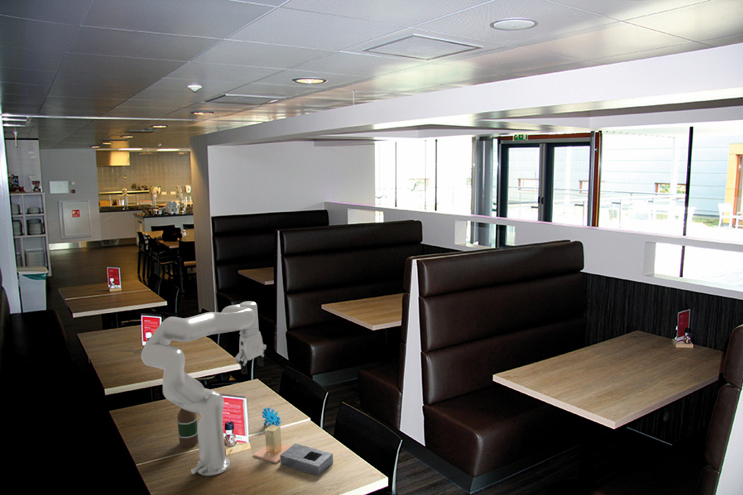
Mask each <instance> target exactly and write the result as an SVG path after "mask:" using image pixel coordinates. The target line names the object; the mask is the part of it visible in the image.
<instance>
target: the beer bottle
mask: <svg viewBox="0 0 743 495" xmlns="http://www.w3.org/2000/svg"><path fill="white" fill-rule="evenodd" d="M197 425H198V419H197V413H194V412H190V411H187V410H185V409H182V408H181V407H180V410H179V411H178V414H177V428H178V429H177V430H178V441H179V445H180V446H181V447H182V448H185V447H189V448H191V447H195V446H196V445H197V444H199V442H198V432H197Z"/></svg>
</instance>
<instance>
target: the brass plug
mask: <svg viewBox="0 0 743 495" xmlns="http://www.w3.org/2000/svg"><path fill="white" fill-rule="evenodd" d="M275 425H276V424H275ZM275 425H273V424H271V425H270V426H269V425H268V426H267V427H266V428H265V429H264V436H265V437H264V438H265V446H266V452H267V453H271V454H274V455H275V454H277V453H278V452H279V451H281V450H282V446H281V444H282V433H281V432H282V431H281V426H280V425H279V426H275Z"/></svg>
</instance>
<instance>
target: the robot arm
mask: <svg viewBox="0 0 743 495" xmlns="http://www.w3.org/2000/svg"><path fill="white" fill-rule="evenodd" d="M258 316H259V315H258V304H257V303H256V302H255V301H251V300H250V301H249V300H248V301H247V300H246V301H243V302H240V303H239V304H232V305H228V306H225V307H224V308H223V309H222V311H221V312H215V311H212V312H209V311H208V312H204V313H201V314H197V315H194V316H190V317H185V318H182V317H177V316H169V317H167V318H165V319H164V320H163V321H162V322H161V323H160V324H159V326H158V327H157V328H156V329H155V331H154V332H153V334H152V335H151V336H150V337H149V339H148V340H147V342H146V343H145V344H144V346H143V348H142V350H141V354H140V355H141V356H140V359H141V361H142V362H143V364H144V365H145V366H148V367H151V368H155V369H160V370H163V373H162V374H163V375H162V394H163V396H164V397H165V399H167V401H169V402H171V403H172V404H174V405H176V406H177V407H179V408H180V409H181V408H182V409H185V410H187V411H190V412H194V413H196V415H200V418H199V420H198V421H197V432H198V453H199V460H198V461H197V464H196V465H195V466H194V467H193V468H191V469H190V473H191V474H194V475H195V474H196V473H198V474H199V475H201V476H205V477H208V476H210V477H211V476H216V475H219V474H222V473H223V472H225V471H226V470H228V469H229V468H230V465H231V462H230V459H229V458H228V457H226V450H225V448H226V447H225V436H224V424H223V412H224V404H225V402H224V401H225V400H224V396H223V395H222V394H221V393H220V392H218V391H217V390H214V389H213V390H212V389H209V388H205V387H204V385H203V384H202V383H201V381H199V380H197V379H195V378H194V377H192V376H191V375H189V373H187V372H185V363H186V357H185V354H184V352H183V351H182V350H181V349H180V348H179V347H177V346H174V345H170V344H171V342H172V341H176V342H179V343H187V342H192V341H195V340H198V339H202V338H204V337H207V336H211V335H217V334H218V335H219V334H224V333H230V332H231V333H232V332H236V331H237V332H238V331H239V335H240V336H239V344H238V345H239V350H238V351H239V352H237V354H236V355H235V357H234V359H235V361H236V363H237V364H238V365H239V366H240V373H241V374H243V375H248V366H247V363H248V361H251V360H252V359H253V360H254V359H255V358H256V364H257V366H259V367H264V366H265V364H264V356H265V353H266V350H267V344H264V342H263V336H262V334H261V331H260V330H259V317H258Z"/></svg>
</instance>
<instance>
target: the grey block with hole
mask: <svg viewBox="0 0 743 495" xmlns="http://www.w3.org/2000/svg"><path fill="white" fill-rule="evenodd" d="M291 446H292V447H290V448H289V449H288V450H286V451H285V452H284V453H282V454H281V455H280V460H281V461H280V465H281V466H283V467H286V468H290V469H293V470H297V471H300V472H304V473H307V474H310V475H314V476H316V475H317V477H319V476H321V475H322V474H323V473H325V471H326V470H327V469H328V468H329V467H331V466H332V464H333V463H334V456H333V454H334V453H333V452H328V451H324V450H321V449H318V448H314V447H311V446H305V445H303V444H299V443H294V444H293V445H291Z"/></svg>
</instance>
